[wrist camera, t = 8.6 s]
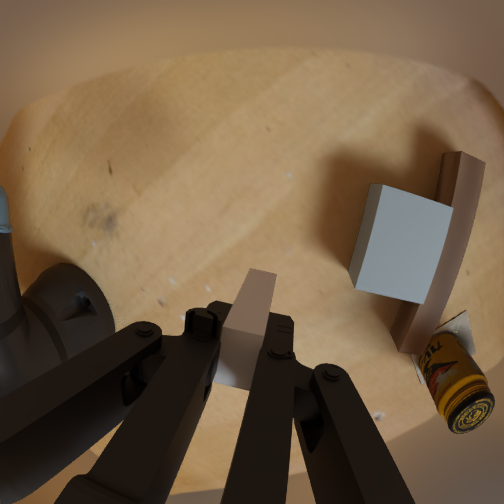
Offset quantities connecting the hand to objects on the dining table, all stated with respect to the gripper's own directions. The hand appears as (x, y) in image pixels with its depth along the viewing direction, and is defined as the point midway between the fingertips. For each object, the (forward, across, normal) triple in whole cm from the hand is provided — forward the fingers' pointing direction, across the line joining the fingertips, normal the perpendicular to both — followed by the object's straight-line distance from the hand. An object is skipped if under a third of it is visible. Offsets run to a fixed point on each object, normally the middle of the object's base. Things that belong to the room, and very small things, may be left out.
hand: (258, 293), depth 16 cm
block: (+13, +11, +3) cm, 17 cm away
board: (+12, +16, +3) cm, 21 cm away
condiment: (+13, +23, -8) cm, 28 cm away
